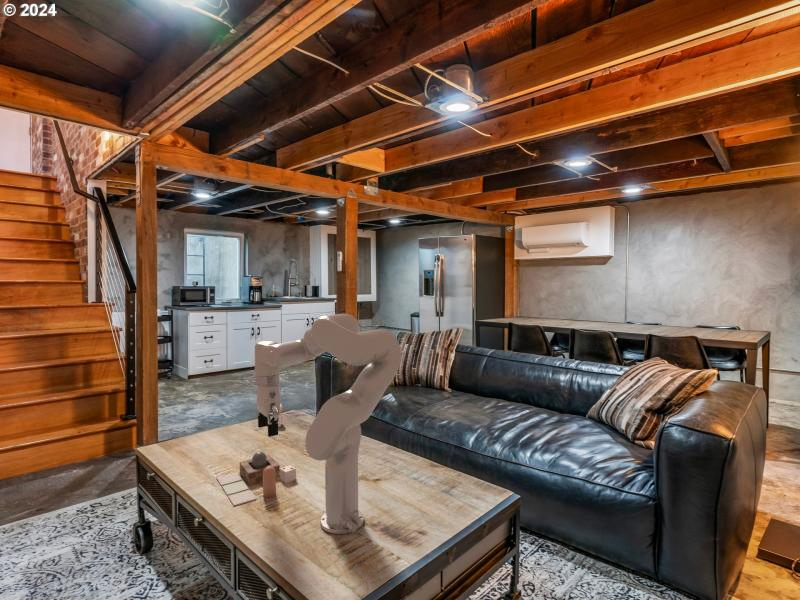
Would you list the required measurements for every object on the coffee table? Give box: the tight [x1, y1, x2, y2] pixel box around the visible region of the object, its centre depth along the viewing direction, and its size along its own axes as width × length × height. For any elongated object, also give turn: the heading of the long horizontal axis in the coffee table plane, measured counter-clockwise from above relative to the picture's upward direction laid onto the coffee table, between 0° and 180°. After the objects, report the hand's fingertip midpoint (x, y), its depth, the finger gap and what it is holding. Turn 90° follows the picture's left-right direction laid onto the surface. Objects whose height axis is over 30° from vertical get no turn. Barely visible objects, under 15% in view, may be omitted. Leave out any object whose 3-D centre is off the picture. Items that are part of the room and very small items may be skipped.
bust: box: [268, 402, 285, 428], centre depth 210 cm, size 12×8×11 cm
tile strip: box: [216, 471, 257, 507], centre depth 148 cm, size 23×7×1 cm, turn 36°
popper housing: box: [239, 454, 281, 485], centre depth 158 cm, size 11×11×4 cm
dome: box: [251, 451, 267, 469], centre depth 158 cm, size 5×5×6 cm
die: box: [279, 464, 297, 484], centre depth 154 cm, size 4×4×4 cm
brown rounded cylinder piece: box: [262, 466, 277, 499], centre depth 143 cm, size 4×4×10 cm
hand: (267, 431), depth 142 cm, fingers open, 9 cm apart
